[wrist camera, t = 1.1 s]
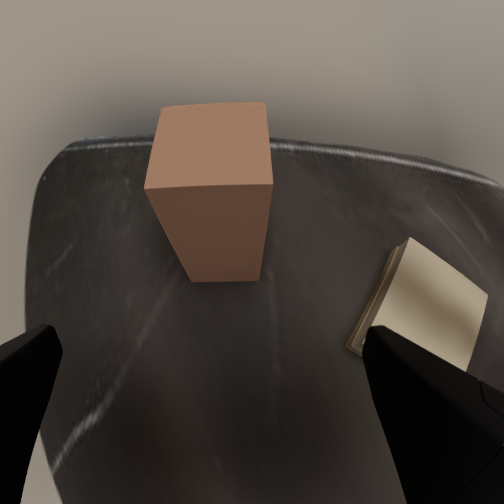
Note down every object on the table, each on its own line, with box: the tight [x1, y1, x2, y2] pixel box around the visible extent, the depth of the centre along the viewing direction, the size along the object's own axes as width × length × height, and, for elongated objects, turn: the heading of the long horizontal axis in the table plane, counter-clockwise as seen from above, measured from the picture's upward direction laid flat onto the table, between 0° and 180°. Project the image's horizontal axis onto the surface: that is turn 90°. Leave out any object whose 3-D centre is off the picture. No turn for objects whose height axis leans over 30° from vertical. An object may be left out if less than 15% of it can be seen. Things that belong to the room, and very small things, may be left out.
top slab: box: [352, 237, 488, 372], centre depth 19 cm, size 9×9×2 cm
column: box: [144, 102, 273, 282], centre depth 18 cm, size 5×5×12 cm
